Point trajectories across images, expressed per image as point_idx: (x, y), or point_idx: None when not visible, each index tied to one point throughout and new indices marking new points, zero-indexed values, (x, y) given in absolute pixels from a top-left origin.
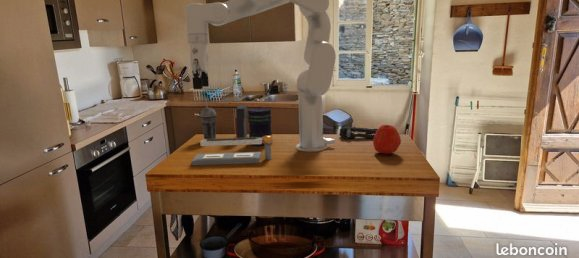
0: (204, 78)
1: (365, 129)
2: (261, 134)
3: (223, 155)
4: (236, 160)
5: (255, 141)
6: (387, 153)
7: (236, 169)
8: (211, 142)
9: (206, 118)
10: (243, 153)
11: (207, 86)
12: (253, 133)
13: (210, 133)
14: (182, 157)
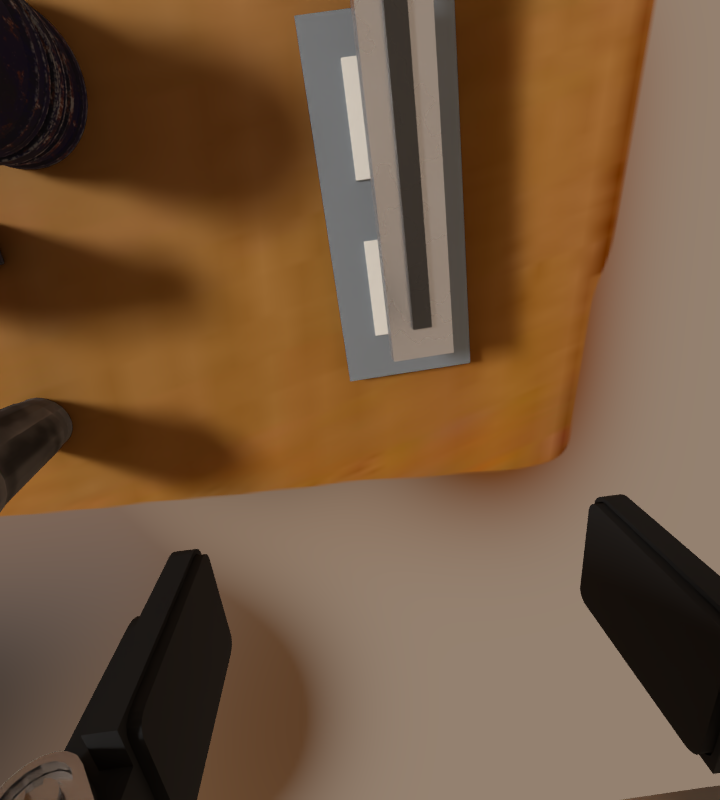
0: (177, 717)
1: None
2: (27, 25)
3: None
4: (458, 143)
5: None
6: None
7: (544, 122)
8: (448, 290)
9: None
10: (354, 125)
11: (200, 555)
12: (30, 101)
13: (36, 431)
14: (344, 441)
